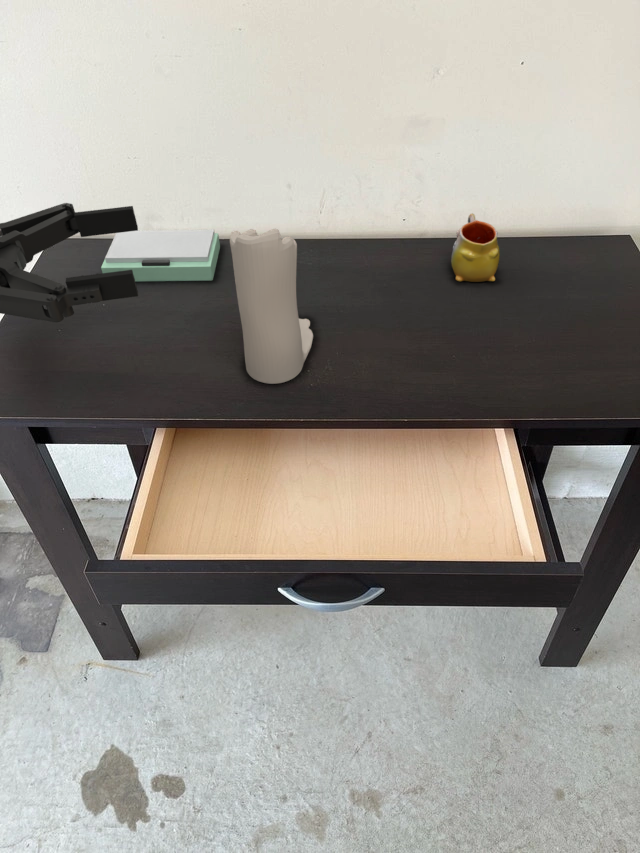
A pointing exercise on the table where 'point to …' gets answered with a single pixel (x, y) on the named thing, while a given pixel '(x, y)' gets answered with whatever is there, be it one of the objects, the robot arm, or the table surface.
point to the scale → (164, 254)
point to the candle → (269, 305)
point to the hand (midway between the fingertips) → (135, 248)
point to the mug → (475, 252)
